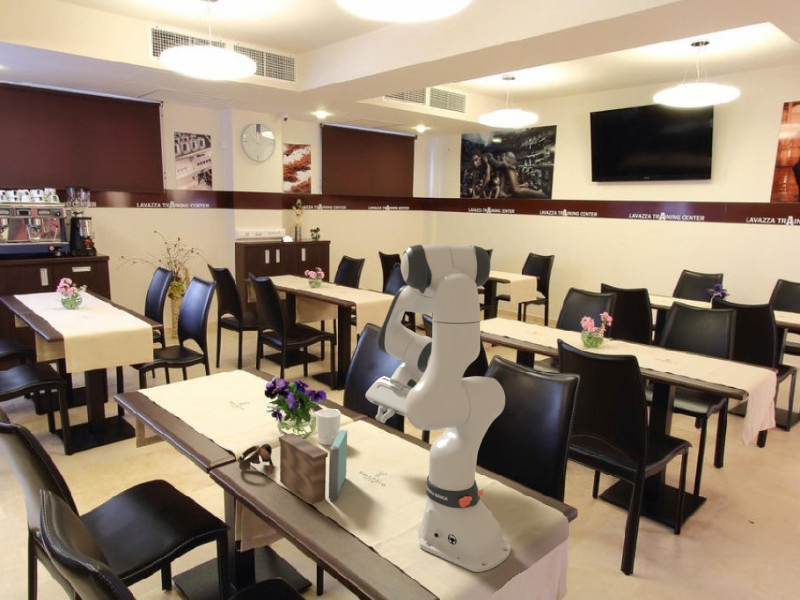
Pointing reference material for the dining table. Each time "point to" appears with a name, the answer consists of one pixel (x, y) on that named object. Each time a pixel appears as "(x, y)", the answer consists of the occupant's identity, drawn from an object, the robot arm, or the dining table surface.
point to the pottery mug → (257, 457)
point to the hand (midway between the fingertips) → (379, 420)
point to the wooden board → (303, 467)
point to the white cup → (328, 425)
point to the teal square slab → (337, 464)
